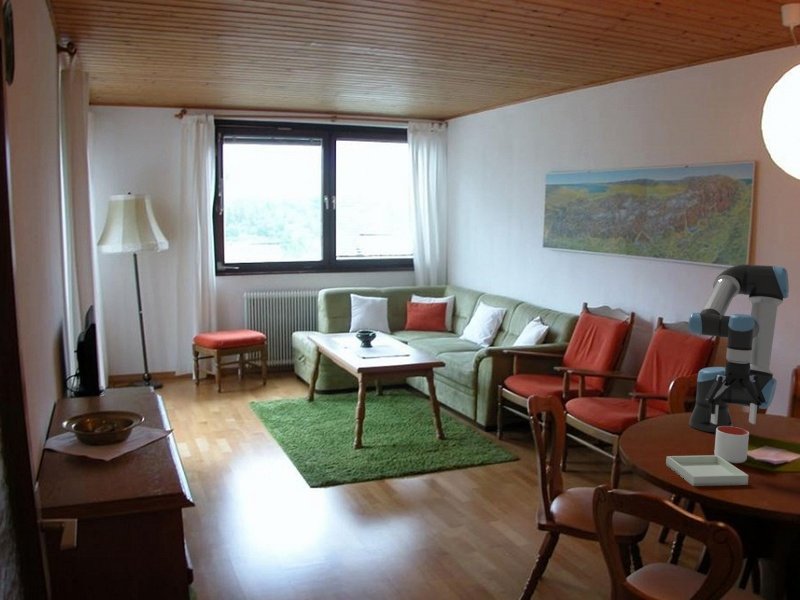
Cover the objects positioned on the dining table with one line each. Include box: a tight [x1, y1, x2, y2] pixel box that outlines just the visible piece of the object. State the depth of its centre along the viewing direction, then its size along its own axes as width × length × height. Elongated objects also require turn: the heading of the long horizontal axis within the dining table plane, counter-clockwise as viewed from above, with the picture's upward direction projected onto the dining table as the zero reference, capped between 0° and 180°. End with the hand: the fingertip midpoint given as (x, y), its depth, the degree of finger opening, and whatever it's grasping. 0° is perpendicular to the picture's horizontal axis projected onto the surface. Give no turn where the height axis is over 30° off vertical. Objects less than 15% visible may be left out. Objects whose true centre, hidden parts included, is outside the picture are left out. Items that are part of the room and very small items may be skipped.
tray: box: [665, 454, 749, 487], centre depth 226 cm, size 18×18×3 cm
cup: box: [713, 425, 750, 464], centre depth 240 cm, size 10×10×10 cm
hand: (732, 423), depth 239 cm, fingers open, 13 cm apart
